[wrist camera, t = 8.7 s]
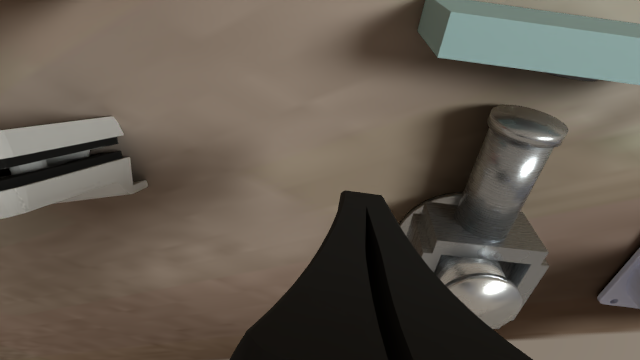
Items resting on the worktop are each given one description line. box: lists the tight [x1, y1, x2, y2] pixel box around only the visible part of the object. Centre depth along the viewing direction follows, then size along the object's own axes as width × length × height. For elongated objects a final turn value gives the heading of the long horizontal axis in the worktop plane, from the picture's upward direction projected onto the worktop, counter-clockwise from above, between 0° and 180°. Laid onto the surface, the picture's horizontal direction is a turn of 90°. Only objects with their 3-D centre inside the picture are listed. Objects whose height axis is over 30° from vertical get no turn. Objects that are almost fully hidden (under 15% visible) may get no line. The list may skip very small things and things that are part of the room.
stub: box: [399, 192, 522, 329], centre depth 22 cm, size 8×8×6 cm
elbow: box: [406, 105, 568, 329], centre depth 21 cm, size 14×7×4 cm, turn 175°
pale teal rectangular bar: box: [417, 0, 640, 85], centre depth 15 cm, size 12×2×4 cm, turn 83°
